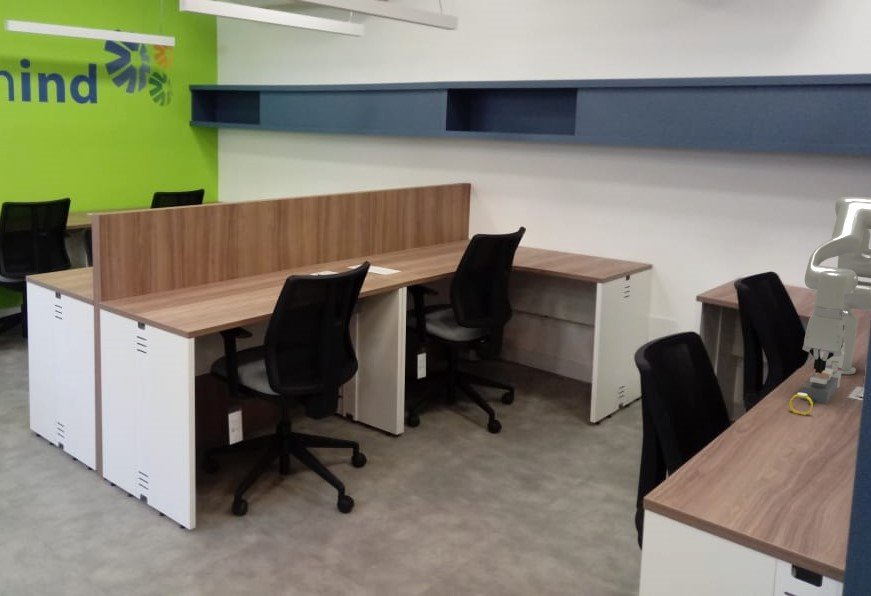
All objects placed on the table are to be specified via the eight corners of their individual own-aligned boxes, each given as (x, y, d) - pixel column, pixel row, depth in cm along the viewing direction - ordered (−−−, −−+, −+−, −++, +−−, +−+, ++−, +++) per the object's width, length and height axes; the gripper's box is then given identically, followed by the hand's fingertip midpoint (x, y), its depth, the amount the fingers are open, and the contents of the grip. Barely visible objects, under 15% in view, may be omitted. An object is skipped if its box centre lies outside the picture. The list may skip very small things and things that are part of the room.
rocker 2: (812, 380, 244) (813, 376, 243) (826, 383, 241) (827, 378, 241) (809, 381, 239) (810, 376, 239) (824, 384, 237) (825, 379, 237)
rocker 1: (819, 370, 251) (819, 366, 250) (832, 373, 248) (833, 369, 248) (815, 378, 247) (815, 373, 246) (829, 380, 244) (829, 376, 244)
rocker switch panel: (812, 385, 254) (814, 371, 253) (836, 390, 250) (838, 375, 249) (797, 402, 236) (800, 387, 235) (823, 408, 232) (825, 392, 231)
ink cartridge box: (816, 379, 261) (822, 335, 258) (832, 380, 261) (838, 337, 257) (823, 386, 253) (829, 342, 250) (839, 388, 252) (846, 343, 249)
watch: (788, 413, 227) (789, 393, 226) (790, 410, 230) (791, 391, 229) (810, 416, 224) (812, 396, 223) (812, 414, 226) (814, 394, 225)
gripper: (857, 314, 233) (848, 374, 237) (803, 306, 241) (795, 364, 245) (853, 318, 227) (844, 380, 230) (798, 310, 235) (789, 369, 239)
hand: (818, 371), depth 238 cm, fingers closed
